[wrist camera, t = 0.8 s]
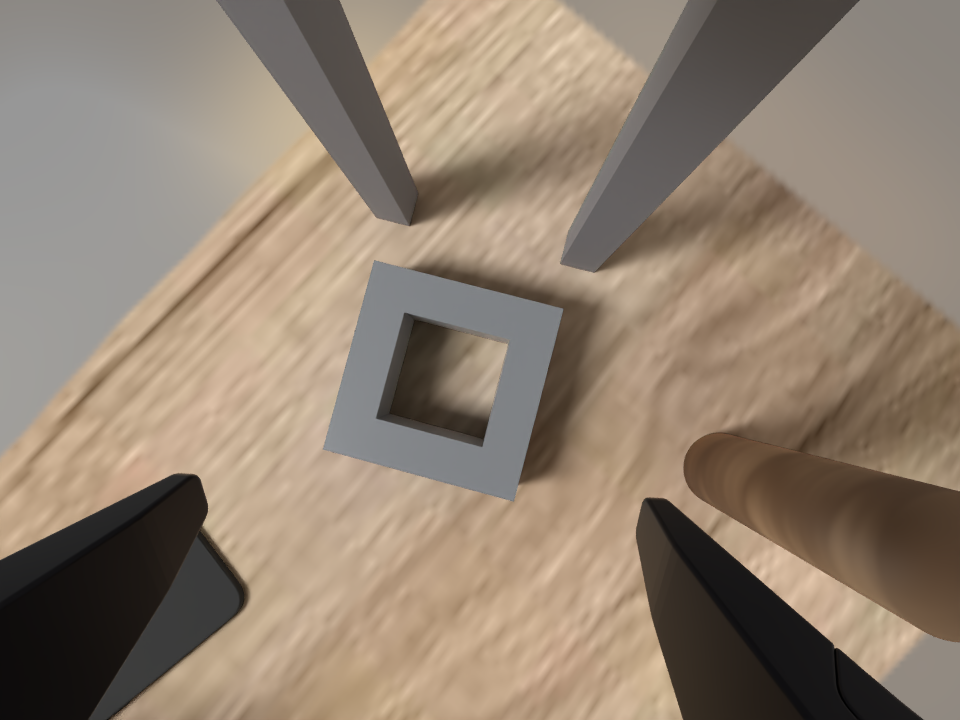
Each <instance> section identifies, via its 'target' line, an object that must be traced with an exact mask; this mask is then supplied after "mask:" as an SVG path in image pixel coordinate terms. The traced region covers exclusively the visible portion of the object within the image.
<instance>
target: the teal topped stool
mask: <svg viewBox="0 0 960 720" xmlns="http://www.w3.org/2000/svg"><path fill="white" fill-rule="evenodd" d="M216 1H217V2H218V3H219V5H220V6H221V7H222V9H223V10H224V11H225V13H226V14H227V15H228V17H229V18H230V20H231V21H232V22H233V23H234V25H235V26H236V28H237V29H238V30H239V32H240V33H241V34H242V36H243V37H244V39H245V40H246V41H247V43H248V44H249V45H250V47H251V48H252V49H253V51H254V52H255V53H256V55H257V56H258V58H259V59H260V60H261V62H262V63H263V64H264V66H265V67H266V68H267V70H268V71H269V72H270V74H271V75H272V76H273V78H274V79H275V81H276V82H277V83H278V85H279V86H280V87H281V89H282V90H283V91H284V93H285V94H286V96H287V97H288V98H289V100H290V101H291V102H292V104H293V105H294V106H295V108H296V109H297V110H298V112H299V113H300V114H301V116H302V117H303V119H304V120H305V121H306V123H307V124H308V125H309V127H310V128H311V129H312V131H313V132H314V134H315V135H316V136H317V138H318V139H319V140H320V142H321V143H322V144H323V146H324V147H325V148H326V150H327V151H328V153H329V154H330V155H331V157H332V158H333V159H334V161H335V162H336V163H337V165H338V166H339V167H340V169H341V170H342V172H343V173H344V174H345V176H346V177H347V178H348V180H349V181H350V182H351V184H352V185H353V187H354V188H355V189H356V191H357V192H358V193H359V195H360V196H361V197H362V199H363V200H364V201H365V203H366V204H367V206H368V207H369V208H370V210H371V211H372V212H373V214H374V215H375V216H376V218H379V219H383V220H387V221H391V222H395V223H399V224H403V225H407V226H410V222H411V219H412V215H413V211H414V208H415V204H416V200H417V197H418V191H417V189H416V186H415V184H414V181H413V179H412V176H411V174H410V172H409V169H408V167H407V164H406V162H405V159H404V157H403V154H402V152H401V150H400V147H399V145H398V142H397V140H396V137H395V135H394V132H393V130H392V128H391V125H390V123H389V120H388V118H387V115H386V113H385V110H384V108H383V106H382V103H381V101H380V98H379V96H378V93H377V91H376V88H375V86H374V84H373V81H372V79H371V76H370V74H369V71H368V69H367V66H366V64H365V62H364V59H363V57H362V54H361V52H360V49H359V47H358V44H357V42H356V40H355V37H354V35H353V32H352V30H351V27H350V25H349V22H348V20H347V18H346V15H345V13H344V10H343V8H342V5H341V3H340V1H339V0H216ZM858 1H859V0H688V2H687V4H686V6H685V8H684V10H683V12H682V14H681V15H680V17H679V20H678V21H677V23H676V25H675V27H674V29H673V31H672V33H671V35H670V37H669V39H668V41H667V43H666V44H665V46H664V49H663V50H662V52H661V54H660V56H659V58H658V60H657V62H656V64H655V66H654V67H653V69H652V71H651V73H650V75H649V77H648V79H647V81H646V83H645V85H644V87H643V89H642V91H641V92H640V94H639V96H638V98H637V100H636V102H635V104H634V106H633V108H632V110H631V112H630V114H629V116H628V117H627V119H626V121H625V123H624V125H623V127H622V129H621V131H620V133H619V135H618V137H617V139H616V141H615V143H614V144H613V146H612V148H611V150H610V152H609V154H608V156H607V158H606V160H605V162H604V164H603V166H602V168H601V169H600V171H599V173H598V175H597V177H596V179H595V181H594V183H593V185H592V187H591V189H590V191H589V193H588V194H587V196H586V198H585V200H584V202H583V204H582V206H581V208H580V210H579V212H578V214H577V216H576V218H575V219H574V221H573V223H572V225H571V227H570V229H569V231H568V235H567V239H566V243H565V247H564V251H563V254H562V258H561V262H560V264H562V265H566V266H570V267H574V268H578V269H581V270H585V271H589V272H593V273H594V272H595V271H596V270H597V269H598V268H599V267H600V266H601V265H602V264H603V263H604V262H605V261H606V260H607V259H608V258H609V257H610V256H611V255H612V254H613V253H614V252H615V251H616V250H617V249H618V247H619V246H620V245H621V244H622V243H623V242H624V241H625V240H626V239H627V238H628V237H629V236H630V235H631V234H632V233H633V232H634V231H635V230H636V229H637V228H638V227H639V226H640V225H641V224H642V223H643V222H644V221H645V220H646V219H647V218H648V217H649V216H650V215H651V214H652V213H653V212H654V211H655V210H656V209H657V207H658V206H659V205H660V204H661V203H662V202H663V201H664V200H665V199H666V198H667V197H668V196H669V195H670V194H671V193H672V192H673V191H674V190H675V189H676V188H677V187H678V186H679V185H680V184H681V183H682V182H683V181H684V180H685V179H686V178H687V177H688V176H689V175H690V174H691V173H692V172H693V171H694V170H695V169H696V167H697V166H698V165H699V164H700V163H701V162H702V161H703V160H704V159H705V158H706V157H707V156H708V155H709V154H710V153H711V152H712V151H713V150H714V149H715V148H716V147H717V146H718V145H719V144H720V143H721V142H722V141H723V140H724V139H725V138H726V137H727V136H728V135H729V134H730V133H731V132H732V131H733V129H735V127H736V126H737V125H738V124H739V123H740V122H741V121H742V120H743V119H744V118H745V117H746V116H747V115H748V114H749V113H750V112H751V111H752V110H753V109H754V108H755V107H756V106H757V105H758V104H759V103H760V102H761V100H763V99H764V98H765V96H767V95H768V94H769V93H770V92H771V90H773V88H774V87H775V86H776V85H777V84H778V83H779V82H780V81H781V80H782V79H783V78H784V77H785V76H786V75H787V74H788V73H789V72H790V71H791V70H792V69H793V68H794V67H795V66H796V65H797V64H798V63H799V62H800V61H801V60H802V59H803V58H804V57H805V56H806V55H807V54H808V53H809V52H810V51H811V50H812V49H813V47H814V46H815V45H816V44H817V43H818V42H819V41H820V40H821V39H822V38H823V37H824V36H825V35H826V34H827V33H828V32H829V31H830V30H831V29H832V28H833V27H834V26H835V25H836V24H837V23H838V22H839V21H840V20H841V19H842V18H843V17H844V16H845V15H846V13H848V12H849V10H851V9H852V7H853V6H854V5H855V4H856V3H857V2H858Z"/></svg>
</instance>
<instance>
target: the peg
mask: <svg viewBox="0 0 960 720" xmlns="http://www.w3.org/2000/svg"><path fill="white" fill-rule="evenodd" d="M684 476H685V480H686V482H687V484H688V486H689V488H690V489H691V491H692V492H693V493H694V494H695V495H696V496H697V497H698V498H700V499H701V500H703V501H705V502H706V503H708V504H710V505H711V506H713V507H715V508H716V509H718V510H720V511H721V512H723V513H725V514H727V515H728V516H730V517H732V518H733V519H735V520H737V521H738V522H740V523H742V524H743V525H745V526H747V527H748V528H750V529H752V530H754V531H755V532H757V533H759V534H760V535H762V536H764V537H765V538H767V539H769V540H770V541H772V542H774V543H775V544H777V545H779V546H781V547H782V548H784V549H786V550H787V551H789V552H791V553H792V554H794V555H796V556H797V557H799V558H801V559H802V560H804V561H806V562H808V563H809V564H811V565H813V566H814V567H816V568H818V569H819V570H821V571H823V572H824V573H826V574H828V575H829V576H831V577H833V578H835V579H836V580H838V581H840V582H841V583H843V584H845V585H846V586H848V587H850V588H851V589H853V590H855V591H856V592H858V593H860V594H862V595H863V596H865V597H867V598H868V599H870V600H872V601H873V602H875V603H877V604H878V605H880V606H882V607H883V608H885V609H887V610H888V611H890V612H892V613H894V614H895V615H897V616H899V617H900V618H902V619H904V620H905V621H907V622H909V623H910V624H912V625H914V626H915V627H917V628H919V629H921V630H922V631H924V632H926V633H928V634H930V635H932V636H934V637H937V638H940V639H943V640H947V641H952V642H960V491H956V490H951V489H947V488H943V487H939V486H935V485H931V484H927V483H923V482H919V481H915V480H911V479H907V478H903V477H899V476H895V475H891V474H887V473H883V472H879V471H875V470H871V469H867V468H863V467H859V466H854V465H850V464H846V463H842V462H838V461H834V460H830V459H826V458H822V457H818V456H814V455H810V454H806V453H802V452H798V451H794V450H790V449H786V448H782V447H778V446H774V445H770V444H766V443H762V442H757V441H753V440H749V439H745V438H741V437H737V436H733V435H729V434H724V433H713V434H709V435H706V436H704V437H702V438H700V439H698V440H697V441H696V442H695V443H694V444H693V445H692V446H691V447H690V449H689V450H688V452H687V454H686V457H685V460H684Z"/></svg>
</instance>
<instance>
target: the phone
mask: <svg viewBox="0 0 960 720" xmlns="http://www.w3.org/2000/svg"><path fill="white" fill-rule="evenodd" d="M243 602H244V592H243V589H242V587H241V585H240V583H239V582H238V581H237V579H236V578H235V577H234V575H233V574H232V573H231V571H230V570H229V569H228V567H227V566H226V565H225V563H224V562H223V561H222V559H221V558H220V557H219V555H218V554H217V553H216V551H215V550H214V549H213V547H212V546H211V545H210V543H209V542H208V541H207V540H206V538H205V537H204V536H203V534H202V533H201V532H200V530H199V532H198V534H197V536H196V538H195V540H194V542H193V544H192V546H191V548H190V550H189V552H188V554H187V556H186V558H185V560H184V562H183V564H182V566H181V568H180V570H179V572H178V574H177V576H176V578H175V580H174V582H173V584H172V586H171V588H170V589H169V591H168V593H167V594H166V596H165V598H164V599H163V601H162V603H161V604H160V606H159V608H158V609H157V611H156V612H155V614H154V616H153V617H152V619H151V620H150V622H149V624H148V625H147V627H146V628H145V630H144V632H143V633H142V635H141V636H140V638H139V640H138V641H137V643H136V645H135V646H134V648H133V649H132V651H131V653H130V654H129V656H128V657H127V659H126V661H125V662H124V664H123V665H122V667H121V669H120V670H119V672H118V673H117V675H116V677H115V678H114V680H113V681H112V683H111V685H110V686H109V688H108V690H107V691H106V693H105V694H104V696H103V698H102V699H101V701H100V702H99V704H98V706H97V707H96V709H95V710H94V712H93V714H92V715H91V717H90V718H89V720H108V719H109V718H110V716H112V715H114V714H116V713H117V712H118V711H119V710H121V709H122V708H123V707H124V706H125V705H127V704H128V703H129V702H130V700H131V699H133V698H134V697H135V696H136V695H137V694H139V693H140V692H141V691H142V690H144V689H145V688H146V687H147V686H149V685H150V684H151V683H152V682H153V681H155V680H156V679H157V678H158V677H160V676H161V675H162V674H163V673H164V672H166V671H167V670H168V669H169V668H171V667H172V666H173V665H174V664H176V663H177V662H178V661H179V660H180V659H182V658H183V657H184V656H185V655H187V654H188V653H189V652H190V651H191V650H193V649H194V648H195V647H196V646H198V645H199V644H200V643H201V642H203V641H204V640H205V639H206V638H207V637H209V636H210V635H211V634H212V633H214V632H215V631H216V630H217V629H218V628H220V627H221V626H222V625H223V624H225V623H226V622H227V621H228V620H229V619H231V618H232V617H233V616H234V615H235V614H236V613H237V612H238V611H239V610H240V608H241V607H242V605H243Z"/></svg>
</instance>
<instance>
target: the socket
mask: <svg viewBox="0 0 960 720" xmlns="http://www.w3.org/2000/svg"><path fill="white" fill-rule="evenodd" d="M562 313H563V308H559V307H555V306H551V305H547V304H543V303H539V302H535V301H531V300H527V299H523V298H520V297H516V296H512V295H508V294H504V293H500V292H496V291H492V290H488V289H484V288H480V287H477V286H473V285H469V284H465V283H461V282H457V281H453V280H449V279H445V278H441V277H437V276H434V275H430V274H426V273H422V272H418V271H414V270H410V269H406V268H402V267H398V266H394V265H391V264H387V263H383V262H379V261H375V260H374V263H373V267H372V271H371V274H370V278H369V282H368V285H367V289H366V293H365V296H364V300H363V304H362V307H361V311H360V315H359V318H358V322H357V326H356V330H355V333H354V337H353V341H352V344H351V348H350V352H349V355H348V359H347V363H346V366H345V370H344V374H343V377H342V381H341V385H340V388H339V392H338V396H337V400H336V403H335V407H334V411H333V414H332V418H331V422H330V425H329V429H328V433H327V436H326V440H325V444H324V447H323V450H327V451H331V452H334V453H338V454H342V455H345V456H349V457H353V458H356V459H360V460H364V461H367V462H371V463H375V464H378V465H382V466H386V467H389V468H393V469H397V470H400V471H404V472H408V473H411V474H415V475H418V476H422V477H426V478H429V479H433V480H437V481H440V482H444V483H448V484H451V485H455V486H459V487H462V488H466V489H470V490H473V491H477V492H481V493H484V494H488V495H492V496H495V497H499V498H503V499H506V500H510V501H514V499H515V495H516V491H517V487H518V483H519V479H520V475H521V472H522V468H523V464H524V460H525V456H526V452H527V448H528V444H529V441H530V437H531V433H532V429H533V425H534V421H535V417H536V414H537V410H538V406H539V402H540V398H541V394H542V390H543V387H544V383H545V379H546V375H547V371H548V367H549V363H550V359H551V356H552V352H553V348H554V344H555V340H556V336H557V332H558V329H559V325H560V321H561V317H562ZM414 320H418V321H422V322H426V323H430V324H433V325H437V326H441V327H445V328H449V329H453V330H456V331H460V332H464V333H468V334H472V335H476V336H480V337H483V338H487V339H491V340H495V341H499V342H503V343H506V344H508V348H507V352H506V355H505V359H504V363H503V367H502V371H501V375H500V378H499V382H498V386H497V390H496V394H495V397H494V401H493V405H492V409H491V413H490V417H489V420H488V424H487V428H486V432H485V436H484V439H482V438H478V437H474V436H471V435H467V434H463V433H460V432H456V431H452V430H448V429H445V428H441V427H437V426H433V425H430V424H426V423H422V422H419V421H415V420H411V419H407V418H404V417H400V416H396V415H393V414H389V413H390V409H391V406H392V402H393V398H394V394H395V391H396V387H397V383H398V379H399V376H400V372H401V368H402V364H403V361H404V357H405V353H406V350H407V346H408V342H409V338H410V335H411V331H412V327H413V323H414Z"/></svg>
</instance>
